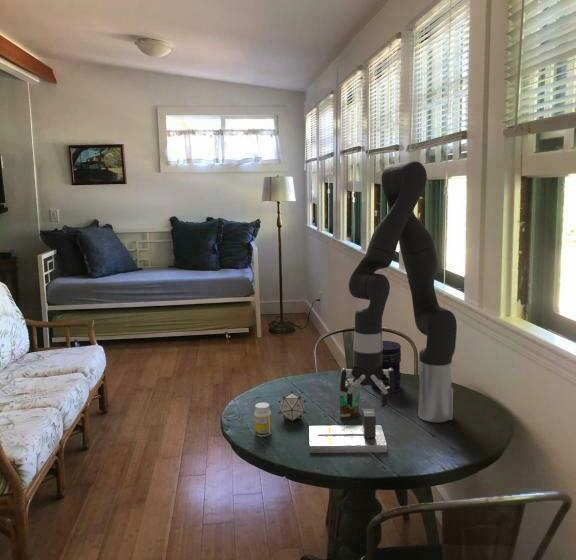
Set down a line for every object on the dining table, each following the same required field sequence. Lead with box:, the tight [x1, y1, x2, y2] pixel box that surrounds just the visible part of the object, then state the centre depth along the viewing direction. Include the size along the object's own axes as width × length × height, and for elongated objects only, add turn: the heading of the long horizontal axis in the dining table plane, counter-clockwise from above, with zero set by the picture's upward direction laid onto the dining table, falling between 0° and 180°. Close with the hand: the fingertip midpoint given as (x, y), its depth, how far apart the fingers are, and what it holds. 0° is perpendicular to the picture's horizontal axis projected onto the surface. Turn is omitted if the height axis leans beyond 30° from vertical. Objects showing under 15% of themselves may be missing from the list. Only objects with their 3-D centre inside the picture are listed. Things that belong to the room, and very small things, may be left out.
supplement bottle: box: [253, 402, 273, 437], centre depth 162 cm, size 5×5×8 cm
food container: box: [339, 375, 363, 420], centre depth 174 cm, size 12×6×10 cm, turn 168°
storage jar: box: [370, 340, 402, 394], centre depth 194 cm, size 10×10×15 cm
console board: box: [308, 424, 388, 454], centre depth 156 cm, size 20×12×2 cm, turn 88°
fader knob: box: [361, 408, 377, 438], centre depth 155 cm, size 3×5×6 cm, turn 178°
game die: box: [277, 390, 307, 424], centre depth 171 cm, size 9×8×10 cm
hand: (366, 406), depth 154 cm, fingers open, 8 cm apart
